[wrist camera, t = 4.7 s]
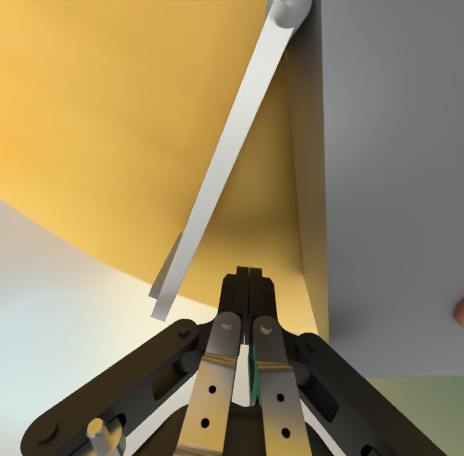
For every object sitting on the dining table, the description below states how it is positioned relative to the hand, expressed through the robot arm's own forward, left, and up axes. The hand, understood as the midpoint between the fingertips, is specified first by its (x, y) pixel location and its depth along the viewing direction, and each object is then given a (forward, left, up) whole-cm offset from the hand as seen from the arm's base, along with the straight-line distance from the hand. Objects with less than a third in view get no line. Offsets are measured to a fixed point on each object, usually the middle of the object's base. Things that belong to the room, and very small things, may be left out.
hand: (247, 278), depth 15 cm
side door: (-6, -1, -5) cm, 8 cm away
